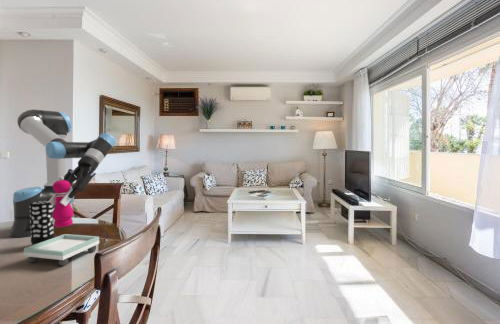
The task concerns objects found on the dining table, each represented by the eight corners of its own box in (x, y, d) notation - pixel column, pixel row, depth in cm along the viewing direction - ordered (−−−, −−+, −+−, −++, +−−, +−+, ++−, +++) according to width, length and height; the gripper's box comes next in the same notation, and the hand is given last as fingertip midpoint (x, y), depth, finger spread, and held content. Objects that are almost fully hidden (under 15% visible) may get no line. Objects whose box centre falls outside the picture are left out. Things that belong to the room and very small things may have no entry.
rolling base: (24, 263, 106) (23, 248, 105) (65, 247, 123) (64, 233, 123) (63, 268, 102) (62, 252, 101) (99, 250, 119) (99, 236, 119)
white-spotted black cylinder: (51, 241, 130) (49, 199, 129) (56, 245, 125) (55, 202, 124) (29, 246, 124) (27, 202, 123) (34, 250, 119) (32, 205, 118)
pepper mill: (49, 228, 107) (47, 177, 106) (57, 223, 114) (54, 175, 113) (70, 226, 109) (68, 177, 108) (76, 222, 116) (74, 175, 115)
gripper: (111, 166, 124) (81, 210, 109) (80, 165, 129) (47, 207, 114) (102, 155, 118) (68, 199, 104) (70, 154, 124) (33, 197, 109)
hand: (57, 203), depth 109 cm, fingers closed on pepper mill, 5 cm apart
